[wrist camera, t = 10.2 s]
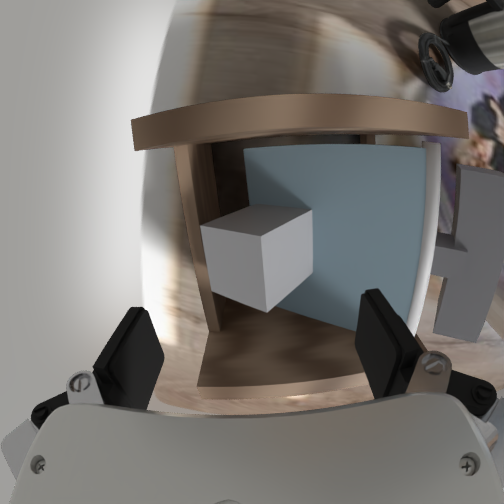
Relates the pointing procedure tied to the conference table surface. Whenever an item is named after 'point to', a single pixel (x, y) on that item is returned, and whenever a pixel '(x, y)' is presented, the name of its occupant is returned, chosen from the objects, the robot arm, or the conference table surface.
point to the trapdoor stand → (207, 209)
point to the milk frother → (465, 43)
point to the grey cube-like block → (259, 253)
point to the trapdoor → (387, 230)
